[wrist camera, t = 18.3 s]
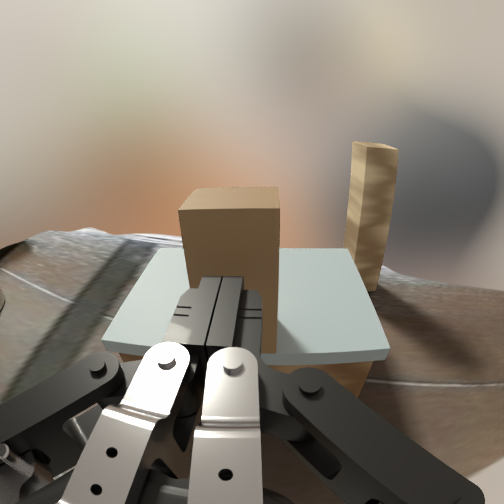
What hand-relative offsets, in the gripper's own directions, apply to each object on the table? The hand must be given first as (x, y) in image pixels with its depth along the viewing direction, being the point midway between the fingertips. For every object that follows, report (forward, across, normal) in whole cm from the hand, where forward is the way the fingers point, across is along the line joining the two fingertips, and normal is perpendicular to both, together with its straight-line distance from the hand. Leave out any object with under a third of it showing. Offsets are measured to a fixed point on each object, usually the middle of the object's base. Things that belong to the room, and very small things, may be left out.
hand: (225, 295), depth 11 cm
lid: (+8, 0, +6) cm, 10 cm away
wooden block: (+19, -12, +12) cm, 26 cm away
